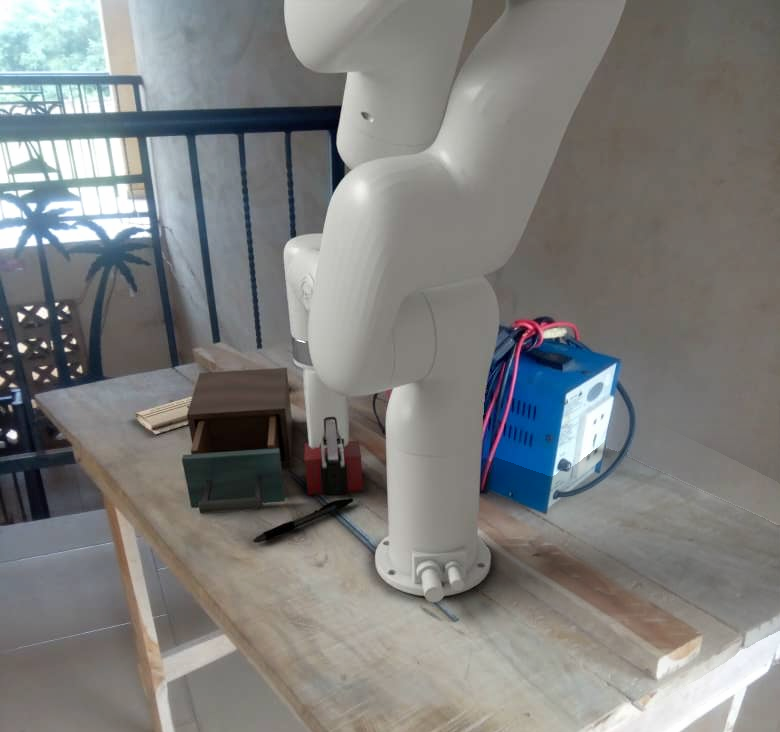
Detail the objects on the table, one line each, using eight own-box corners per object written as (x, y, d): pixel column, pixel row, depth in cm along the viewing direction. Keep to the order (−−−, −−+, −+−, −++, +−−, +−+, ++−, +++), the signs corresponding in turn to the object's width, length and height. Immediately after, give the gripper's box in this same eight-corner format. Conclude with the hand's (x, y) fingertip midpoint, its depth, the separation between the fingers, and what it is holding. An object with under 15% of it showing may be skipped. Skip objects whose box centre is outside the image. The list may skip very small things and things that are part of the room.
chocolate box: (362, 490, 95) (361, 456, 93) (308, 494, 95) (304, 460, 92) (360, 473, 99) (358, 440, 97) (307, 477, 99) (304, 443, 96)
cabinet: (291, 466, 101) (285, 408, 97) (197, 473, 100) (186, 414, 96) (292, 421, 114) (286, 367, 109) (208, 426, 113) (199, 372, 108)
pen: (347, 500, 93) (346, 492, 93) (355, 505, 92) (354, 497, 92) (249, 541, 86) (248, 533, 85) (256, 547, 85) (255, 539, 84)
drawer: (284, 529, 87) (277, 478, 83) (184, 536, 86) (174, 485, 82) (286, 451, 103) (281, 406, 100) (203, 457, 102) (195, 411, 99)
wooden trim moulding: (267, 380, 128) (266, 370, 127) (289, 392, 123) (288, 382, 122) (136, 419, 115) (134, 409, 114) (155, 435, 111) (153, 424, 110)
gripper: (293, 326, 94) (305, 455, 104) (291, 376, 80) (306, 519, 90) (352, 323, 95) (359, 451, 104) (361, 372, 80) (368, 515, 90)
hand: (334, 481), depth 97 cm, fingers closed on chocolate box, 4 cm apart
